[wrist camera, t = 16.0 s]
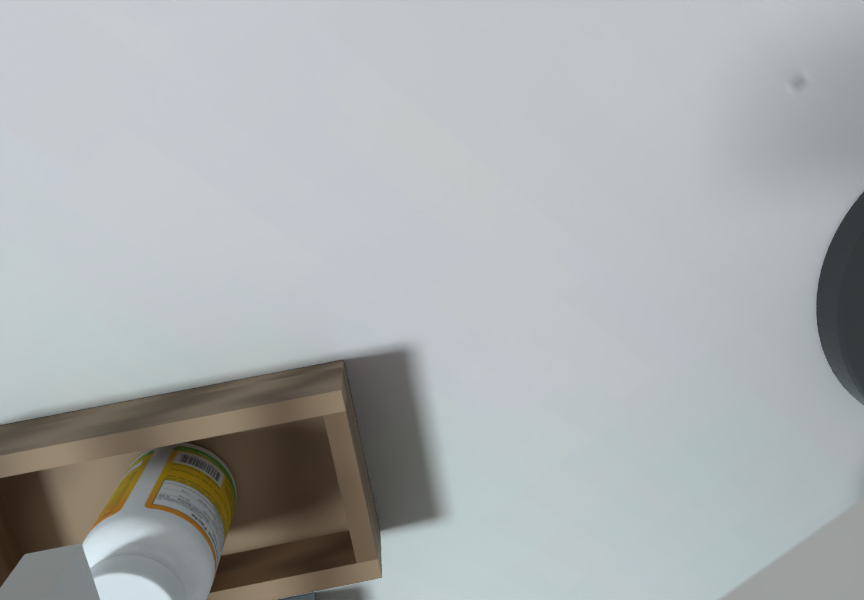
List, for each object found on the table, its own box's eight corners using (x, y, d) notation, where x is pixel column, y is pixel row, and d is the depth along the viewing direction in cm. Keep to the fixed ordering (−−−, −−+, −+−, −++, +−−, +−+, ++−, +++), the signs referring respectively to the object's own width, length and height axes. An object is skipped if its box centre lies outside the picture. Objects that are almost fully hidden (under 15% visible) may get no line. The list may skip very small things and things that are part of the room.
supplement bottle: (137, 548, 39) (66, 695, 29) (112, 448, 37) (27, 569, 28) (248, 531, 39) (211, 670, 30) (226, 431, 38) (181, 544, 28)
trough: (343, 359, 38) (341, 389, 34) (380, 531, 41) (382, 577, 37) (-32, 431, 38) (-77, 470, 34) (29, 601, 40) (-6, 655, 36)
